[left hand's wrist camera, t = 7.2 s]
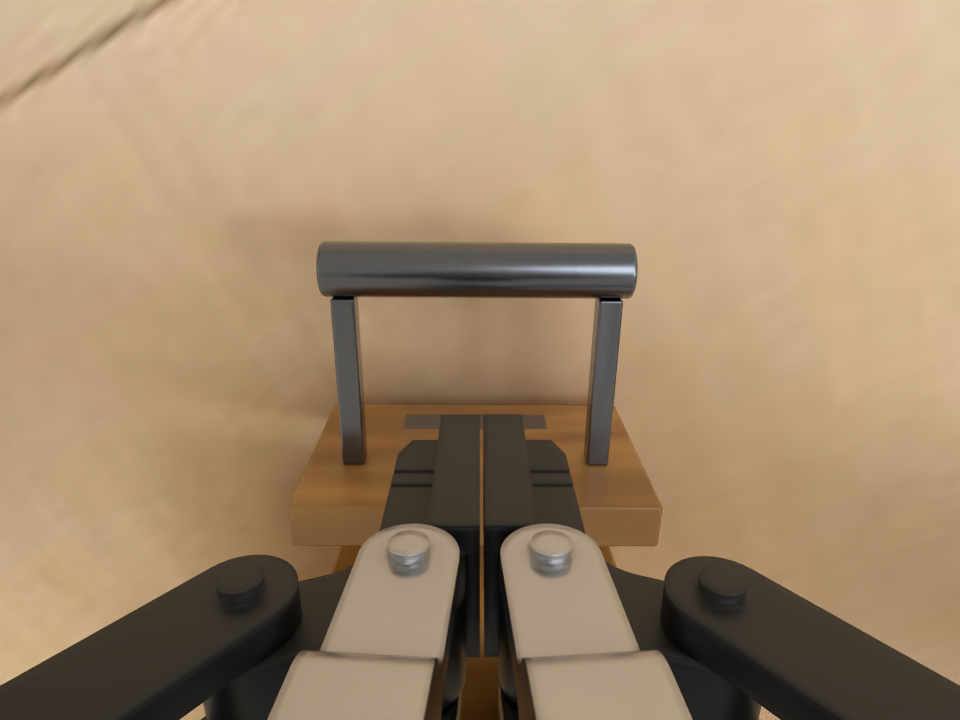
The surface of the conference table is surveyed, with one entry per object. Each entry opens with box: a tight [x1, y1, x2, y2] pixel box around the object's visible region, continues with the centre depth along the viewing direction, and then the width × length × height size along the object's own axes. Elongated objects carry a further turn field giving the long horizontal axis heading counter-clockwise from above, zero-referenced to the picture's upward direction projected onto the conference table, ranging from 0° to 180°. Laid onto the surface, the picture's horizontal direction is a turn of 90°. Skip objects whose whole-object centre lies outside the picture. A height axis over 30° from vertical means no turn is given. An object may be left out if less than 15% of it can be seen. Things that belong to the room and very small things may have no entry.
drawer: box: [288, 241, 662, 720], centre depth 21 cm, size 24×9×6 cm, turn 0°
